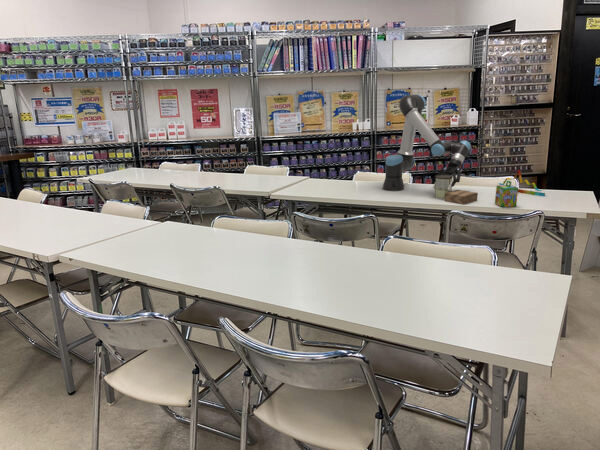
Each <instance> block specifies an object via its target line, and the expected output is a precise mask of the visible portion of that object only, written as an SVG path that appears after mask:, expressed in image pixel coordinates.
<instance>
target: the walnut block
mask: <svg viewBox="0 0 600 450" xmlns="http://www.w3.org/2000/svg"><path fill="white" fill-rule="evenodd" d="M478 195H479V192H475V191H468V190H462V189H455V190H452V191H451V192H447V193H445V199H444V201H445V202H449V203H453V204H454V203H455V204H461V205H467V204H471V203H474V202H477V201H478Z"/></svg>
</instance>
